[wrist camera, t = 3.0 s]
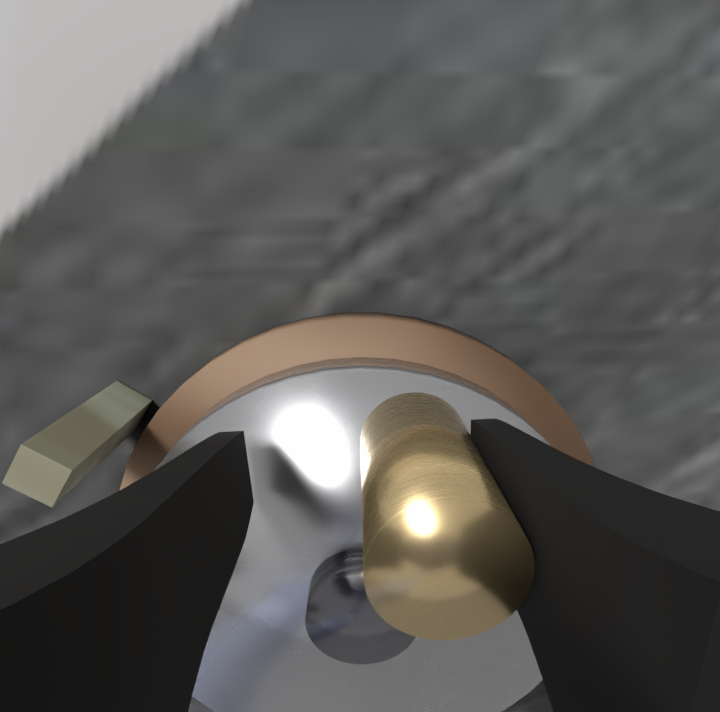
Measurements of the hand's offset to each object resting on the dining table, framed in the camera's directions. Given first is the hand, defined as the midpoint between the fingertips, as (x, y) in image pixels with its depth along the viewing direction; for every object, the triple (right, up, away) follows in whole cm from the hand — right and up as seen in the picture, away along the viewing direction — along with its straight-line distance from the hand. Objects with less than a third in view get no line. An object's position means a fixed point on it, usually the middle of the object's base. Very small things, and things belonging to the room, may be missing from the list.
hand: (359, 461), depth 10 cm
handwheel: (0, -4, +3) cm, 5 cm away
